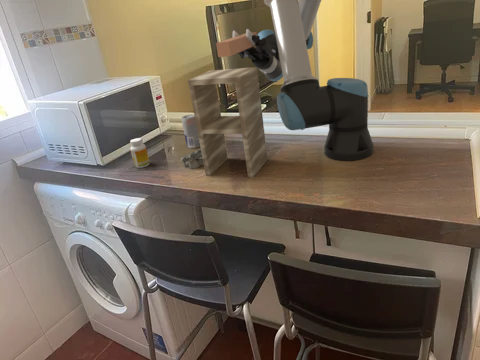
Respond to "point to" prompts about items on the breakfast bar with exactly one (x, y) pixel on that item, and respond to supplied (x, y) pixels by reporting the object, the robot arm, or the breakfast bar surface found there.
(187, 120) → the energy drink
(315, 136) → the breakfast bar surface
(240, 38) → the bar
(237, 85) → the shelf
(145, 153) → the supplement bottle
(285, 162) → the breakfast bar surface
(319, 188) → the breakfast bar surface
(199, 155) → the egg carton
